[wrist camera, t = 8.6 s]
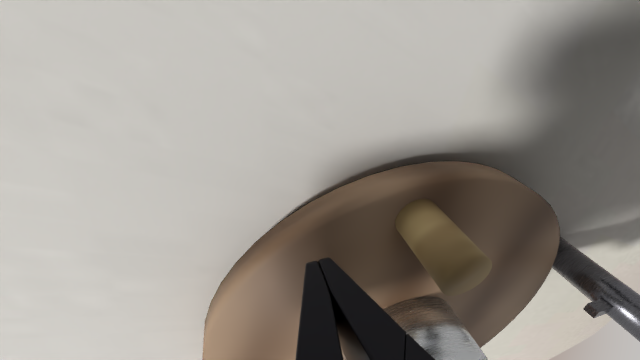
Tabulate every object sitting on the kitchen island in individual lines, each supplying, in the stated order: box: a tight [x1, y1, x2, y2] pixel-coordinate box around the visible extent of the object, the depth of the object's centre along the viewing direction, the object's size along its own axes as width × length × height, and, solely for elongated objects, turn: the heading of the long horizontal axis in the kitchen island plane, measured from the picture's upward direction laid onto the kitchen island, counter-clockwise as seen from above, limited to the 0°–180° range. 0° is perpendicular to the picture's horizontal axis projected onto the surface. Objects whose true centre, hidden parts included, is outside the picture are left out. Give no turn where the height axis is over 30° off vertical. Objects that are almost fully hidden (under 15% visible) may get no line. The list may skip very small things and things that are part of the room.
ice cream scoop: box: [552, 237, 640, 341], centre depth 16 cm, size 3×4×10 cm
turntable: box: [202, 161, 560, 360], centre depth 16 cm, size 21×21×4 cm
